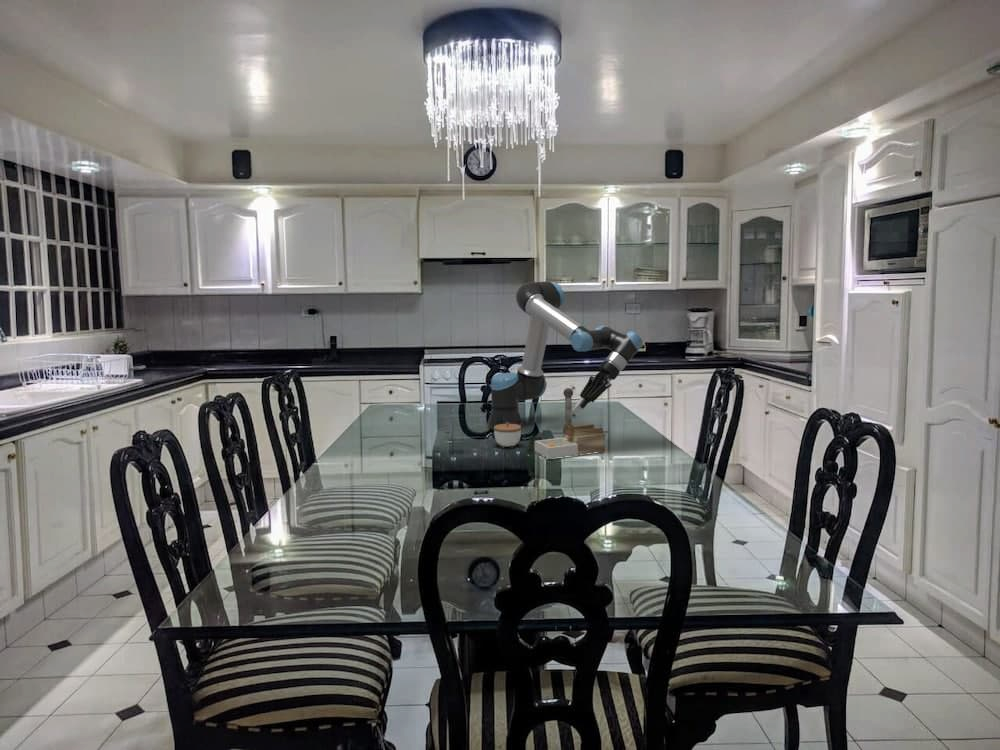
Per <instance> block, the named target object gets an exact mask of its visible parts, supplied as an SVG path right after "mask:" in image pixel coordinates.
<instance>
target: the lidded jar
mask: <svg viewBox="0 0 1000 750" xmlns="http://www.w3.org/2000/svg"><path fill="white" fill-rule="evenodd" d="M493 431H494V432H493V434H494V439H495V441H496V443H497V444H498V445H499V446H500V445H501V446H515V445H517V444H518V443H519V442H520V440H521V436H522V435H521V434H522V428H521V426H520V425H517V424H509V422H506V424H499V425H496V426H494V430H493ZM501 446H500V447H501ZM515 447H516V446H515Z"/></svg>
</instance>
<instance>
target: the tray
mask: <svg viewBox="0 0 1000 750" xmlns="http://www.w3.org/2000/svg"><path fill="white" fill-rule="evenodd" d="M548 443H551V444H553V445H554V447H549V446H547V445H546V444H548ZM535 451H536V452H538V453H540V454H542V455H544V456H546V457H548V458H556V457H565V456H575V455H578V444H576V443H574V442H571V441H569V440H567V439H565V438H563V437H556V438H555V437H554V438H548V439H540V440H534V452H535Z"/></svg>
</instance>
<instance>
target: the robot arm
mask: <svg viewBox="0 0 1000 750" xmlns="http://www.w3.org/2000/svg"><path fill="white" fill-rule="evenodd" d="M515 301H516V305H518V308H519V309H520V310H522V311H523V312H524V313H525V314H527V315H528V316H530V321H529V325H528V331H527V337H526V342H525V347H524V352H523V358H522V363H521V365H520V366H518V368H517V370H516V371H517V373H516V372H503V373H498V374H496V375H494V376H492V378H491V380H490V381H491V382H490V383H491V384H490V391H491V392H490V394H491V395H490V396H491V398H490V399H491V411H490V415H489V417H488V422H487V428H488V429H489V430H492V431H494V426H496V425H499V424H506V422H509V424H517V425H520V426H521V429H522V428H523V420H522V418H521V413H520V411H519V402H523V401H524V402H525V401H528V400H534V399H537V398H540V397H542V396H543V395H544V394H545V392H546V389H547V384H548V383H547V381H546V376H545V375H544V370H542V366H543V361H544V355H545V351H546V346H547V340H548V337H549V336H548V335H549V331H550V328H551V329H552V330H554V331H555V332H557V333H558V334H560V335H561V336H563V337H564V338H565V339H567V340H569V341H570V345H571V346H572V349H573V350H575V351H576V352H582V353H583V352H588V351H595V350H596V351H597V350H601V349H602V350H603V349H608V350H610V351H611V352H610V353H609V355H608V356H607V357H606V358H605V360H604V361H602V363H601V364H600V366H599V367H598V369H599V372H598V373H596V375H595V376H592V375H590V376H589V378H588V381H587V383H586V384H585V386H583V389H582V390H581V392H580V394H579V396H580V399H579V400H578V401H577V403H576V404H575V406H574V407H573V408H572V414H573V415H574V416H576V417H578V416H579V414H581V412H582V411H583V410H584V408H585V407H587V405H588V404H590V403H591V402H592V403H594V402H596V400H597V399H598V398H599V397H601V395H602V394H603V393H605V391H607V390H608V389H609V388H611V387H612V383H611V380H612V381H614V380H616V378H617V377H618V376H619V375H620V372H622V371H623V370H624V369H625V367H626V366H627V365H628V364H629V362H630V361H631V360H632V359H633V357H634V356H635V355H636V354H637V353H638V352H639V350H640V349H641V347H642V346H643V344H644V339H643V338H642V337H641V336H640V335H639V334H638V333H636V331H631V330H628V331H627V332H626V333H625V334H624V333H621V332H619V331H617V330H615V329H613V328H611V327H609V326H606V325H604V324H603V325H598V327H596V328H595V329H594V330H592V329H591V330H589V329H588V328H586V327H585V326H583V325H582V324H580V323H579V322H577V321H576V320H574V318H571V317H570V316H569V315H567V314H566V313H564V312H563V311H561V310H559V308H561V307H562V306H563V304H564V301H565V294H564V290H563V289H562V286H561V285H560V284H559V283H557V282H555V281H550V280H549V281H548V280H545V281H529V282H525V283H523V284H522V285H521V286H519V287H518V289H517V291H516V295H515Z"/></svg>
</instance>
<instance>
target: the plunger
mask: <svg viewBox="0 0 1000 750" xmlns="http://www.w3.org/2000/svg"><path fill="white" fill-rule="evenodd" d="M563 396H564V423H562V434H563V433H564V434H566V435H568V436H571V435H574V426H575V425H573V424H572V423H573V422H572V419H573V417H572V414H573V412H572V409H573V408H572V407H573V406H572V404H573V401H572V397H573V396H574V390H573V389H572V388H569V387H567V388H564V389H563Z"/></svg>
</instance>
